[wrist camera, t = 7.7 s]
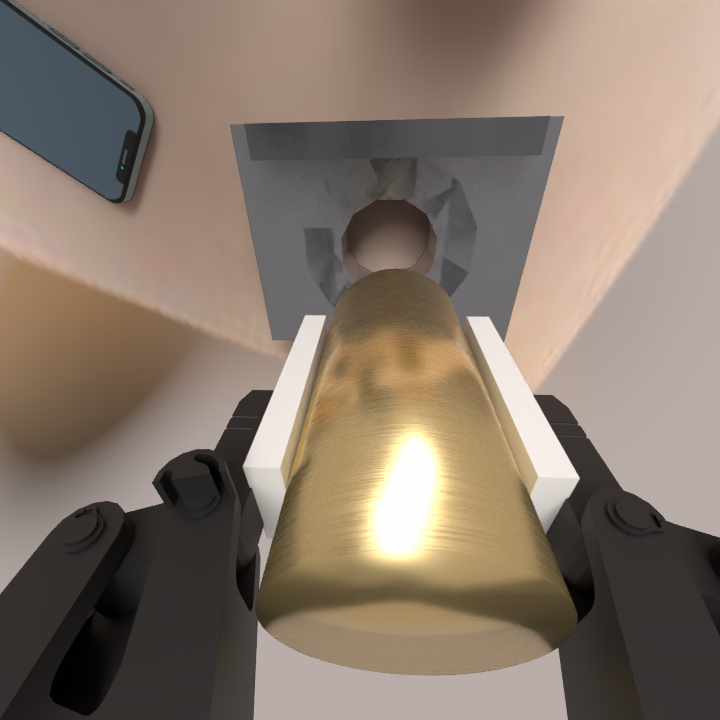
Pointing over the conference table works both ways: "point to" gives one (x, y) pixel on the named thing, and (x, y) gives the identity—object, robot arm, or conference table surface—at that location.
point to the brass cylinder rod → (408, 504)
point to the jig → (394, 182)
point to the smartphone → (69, 106)
